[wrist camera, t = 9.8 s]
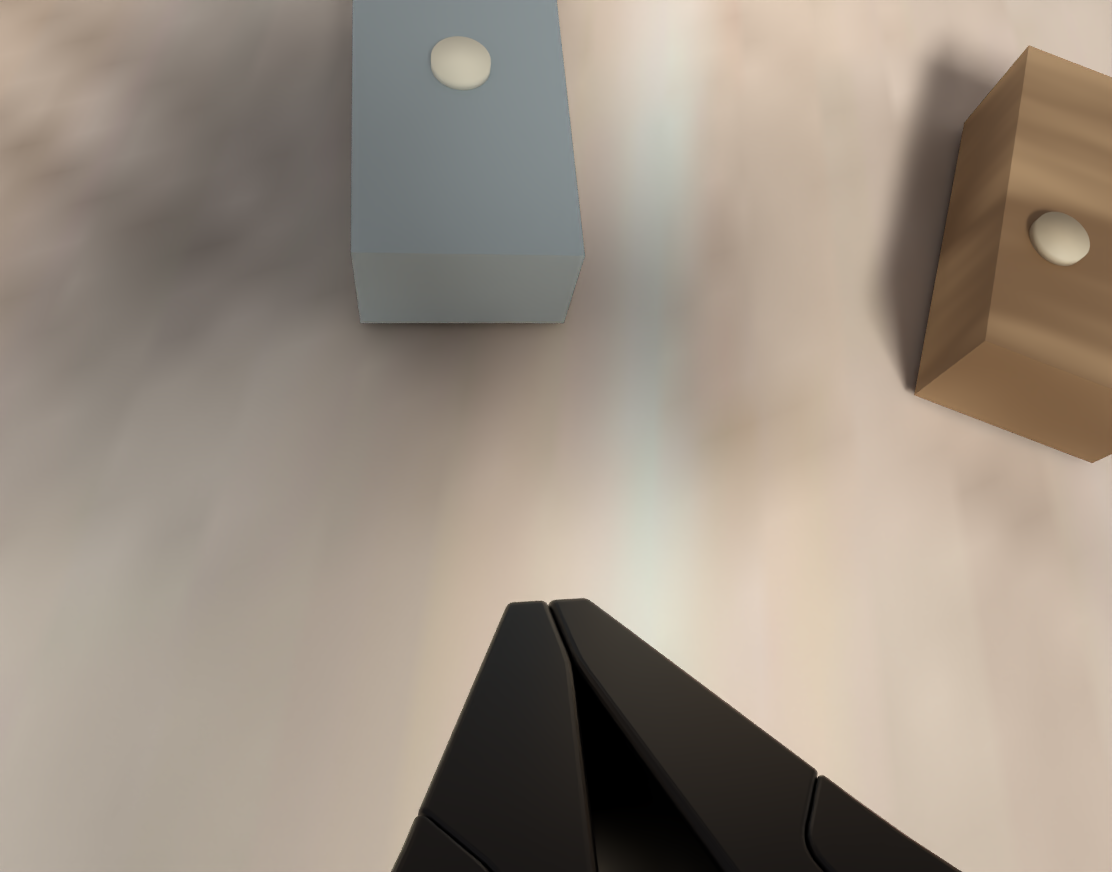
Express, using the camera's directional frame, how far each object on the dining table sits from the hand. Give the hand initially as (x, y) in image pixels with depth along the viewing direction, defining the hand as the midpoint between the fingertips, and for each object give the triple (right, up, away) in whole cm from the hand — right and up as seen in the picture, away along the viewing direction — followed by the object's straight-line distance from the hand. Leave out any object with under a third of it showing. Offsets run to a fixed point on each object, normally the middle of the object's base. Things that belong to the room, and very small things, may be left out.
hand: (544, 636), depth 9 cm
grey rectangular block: (-2, +5, +11) cm, 12 cm away
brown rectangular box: (+12, +3, +12) cm, 17 cm away
